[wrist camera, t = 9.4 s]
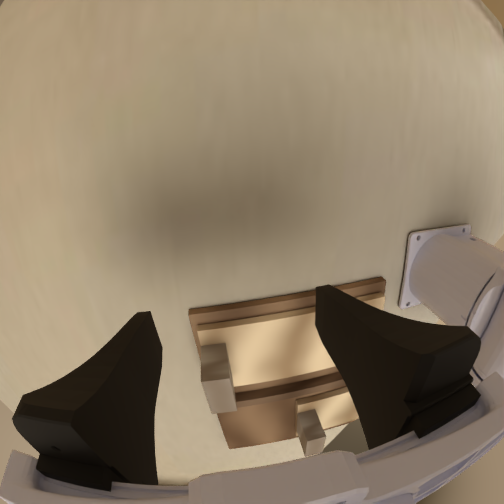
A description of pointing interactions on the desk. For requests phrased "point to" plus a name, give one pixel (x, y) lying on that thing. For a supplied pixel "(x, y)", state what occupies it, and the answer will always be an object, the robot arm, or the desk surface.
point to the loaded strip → (322, 417)
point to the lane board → (276, 391)
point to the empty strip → (261, 351)
